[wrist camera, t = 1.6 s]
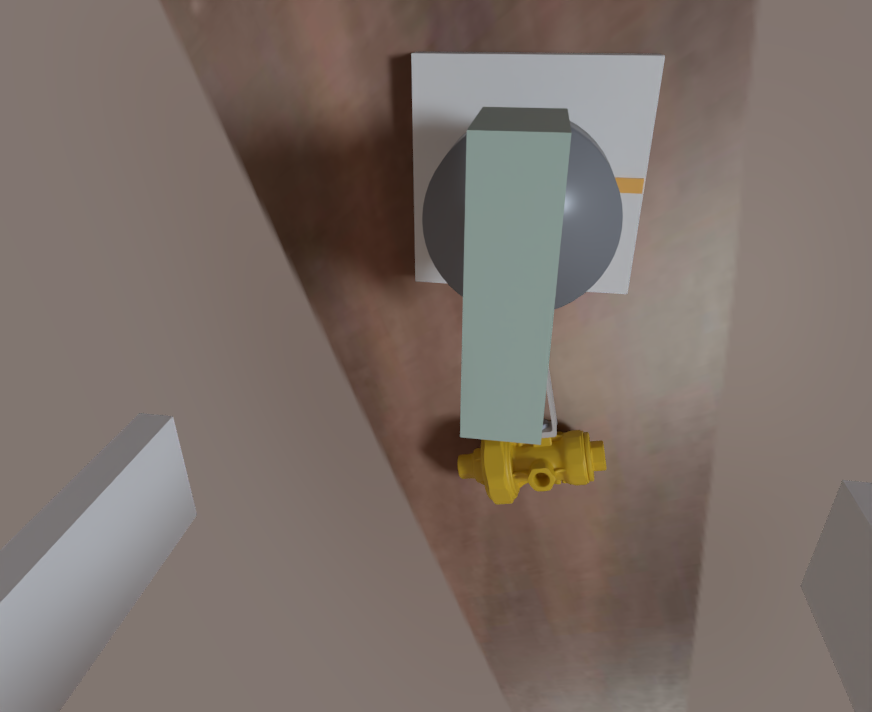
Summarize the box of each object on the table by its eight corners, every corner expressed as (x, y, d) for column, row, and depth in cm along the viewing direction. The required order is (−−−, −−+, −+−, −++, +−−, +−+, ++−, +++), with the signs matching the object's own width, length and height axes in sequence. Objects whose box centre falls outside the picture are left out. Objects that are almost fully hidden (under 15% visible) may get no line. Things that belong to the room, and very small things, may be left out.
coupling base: (416, 51, 35) (390, 60, 29) (660, 53, 33) (683, 63, 27) (419, 272, 41) (398, 314, 35) (624, 284, 39) (637, 330, 34)
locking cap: (432, 84, 29) (366, 127, 19) (633, 88, 28) (681, 135, 18) (432, 312, 35) (382, 442, 24) (600, 324, 34) (622, 465, 23)
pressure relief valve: (606, 468, 46) (471, 478, 48) (586, 310, 42) (442, 329, 45) (611, 510, 41) (460, 519, 43) (588, 333, 37) (425, 354, 40)
